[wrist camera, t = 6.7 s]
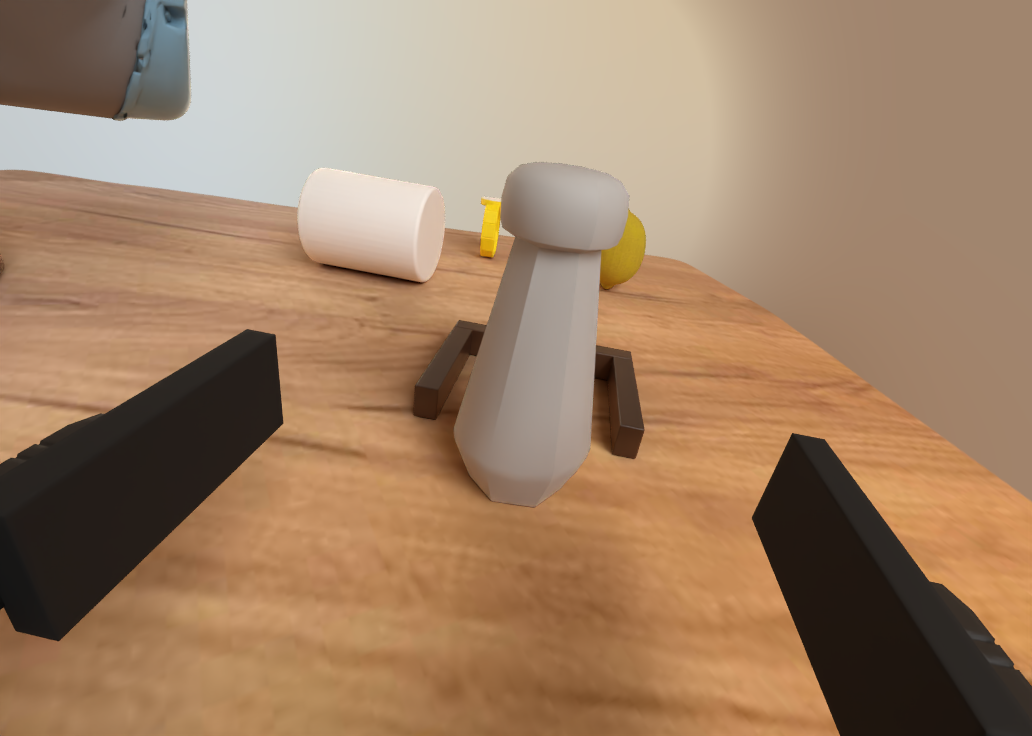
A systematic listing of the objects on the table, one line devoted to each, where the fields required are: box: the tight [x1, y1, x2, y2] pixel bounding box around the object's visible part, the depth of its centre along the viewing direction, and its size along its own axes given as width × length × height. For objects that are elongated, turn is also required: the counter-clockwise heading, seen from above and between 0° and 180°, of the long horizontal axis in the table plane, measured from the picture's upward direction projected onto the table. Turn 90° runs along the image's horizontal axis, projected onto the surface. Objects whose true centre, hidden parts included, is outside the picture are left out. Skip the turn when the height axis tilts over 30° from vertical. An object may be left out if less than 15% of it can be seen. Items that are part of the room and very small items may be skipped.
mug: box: [297, 168, 445, 282], centre depth 44 cm, size 12×10×8 cm
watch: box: [480, 197, 501, 257], centre depth 53 cm, size 6×3×6 cm, turn 177°
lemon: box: [600, 208, 646, 289], centre depth 48 cm, size 6×6×8 cm
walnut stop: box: [414, 320, 644, 458], centre depth 29 cm, size 11×9×2 cm
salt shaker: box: [454, 162, 629, 507], centre depth 19 cm, size 6×6×13 cm
